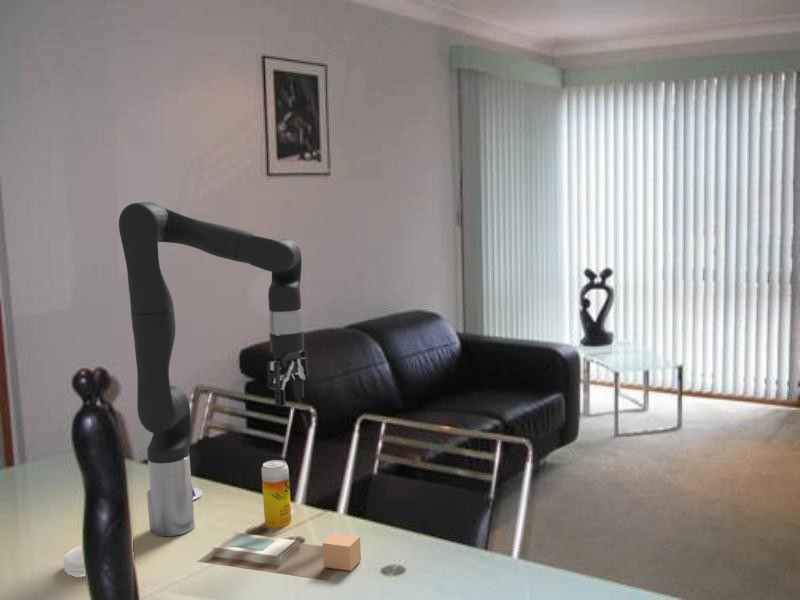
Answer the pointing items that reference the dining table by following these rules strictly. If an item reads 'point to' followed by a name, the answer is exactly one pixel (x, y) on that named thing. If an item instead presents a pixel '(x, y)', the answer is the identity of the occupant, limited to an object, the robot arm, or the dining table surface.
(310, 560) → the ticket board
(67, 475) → the dining table surface
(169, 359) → the robot arm
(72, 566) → the white frilly dome
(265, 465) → the beer can
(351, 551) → the light orange cube
